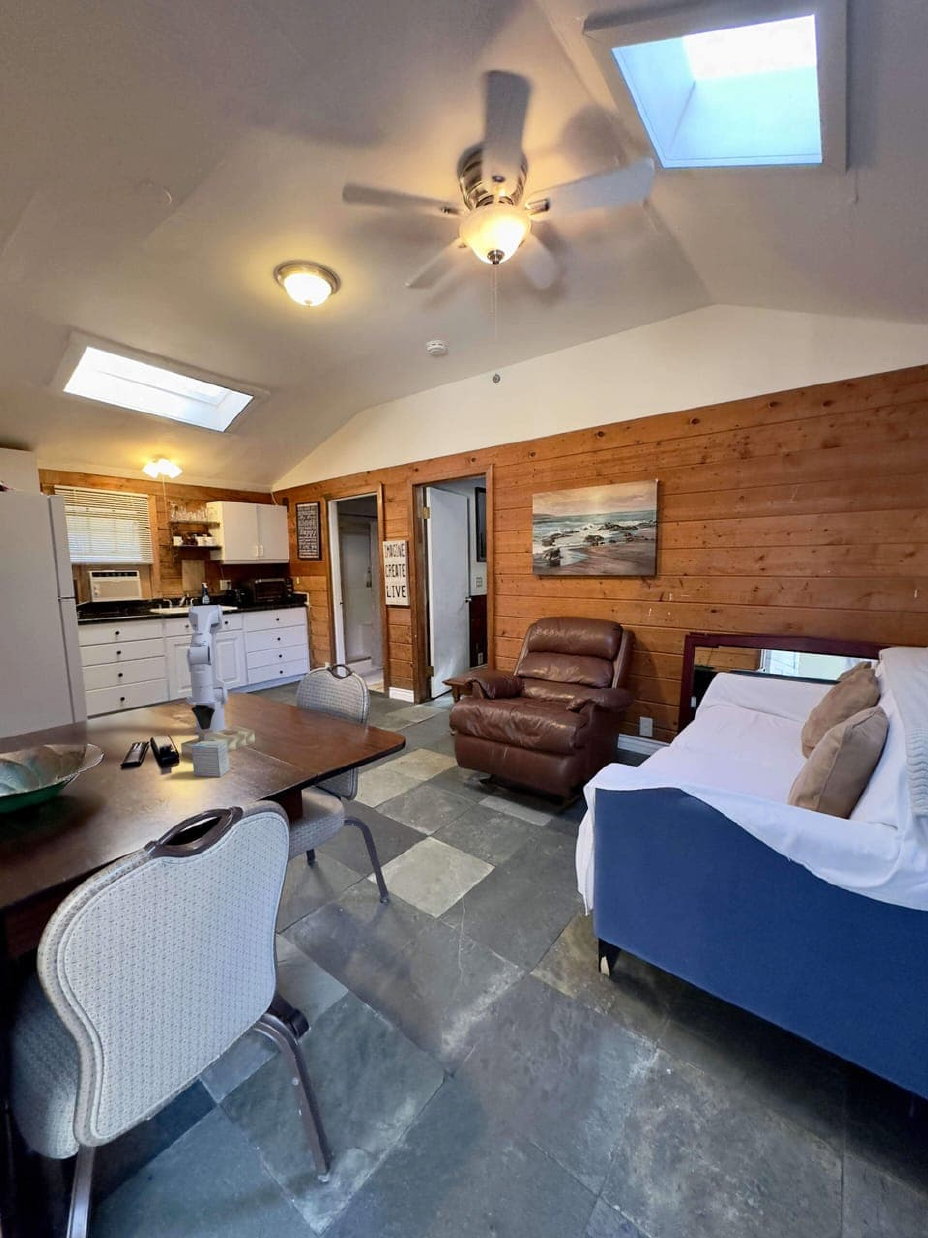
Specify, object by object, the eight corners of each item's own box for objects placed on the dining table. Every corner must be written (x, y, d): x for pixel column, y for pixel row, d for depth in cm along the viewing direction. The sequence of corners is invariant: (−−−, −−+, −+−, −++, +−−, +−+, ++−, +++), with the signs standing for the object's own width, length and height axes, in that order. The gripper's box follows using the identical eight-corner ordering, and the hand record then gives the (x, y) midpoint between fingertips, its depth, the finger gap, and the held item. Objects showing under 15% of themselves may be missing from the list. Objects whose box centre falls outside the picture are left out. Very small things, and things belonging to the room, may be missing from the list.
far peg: (229, 746, 152) (228, 734, 152) (224, 744, 154) (223, 732, 153) (238, 743, 155) (237, 731, 154) (232, 741, 156) (231, 729, 156)
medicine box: (230, 770, 135) (227, 741, 134) (220, 777, 130) (218, 747, 129) (203, 769, 135) (201, 740, 134) (193, 776, 131) (191, 746, 130)
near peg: (204, 746, 145) (203, 733, 144) (199, 744, 146) (198, 732, 146) (214, 743, 147) (213, 730, 147) (208, 741, 149) (207, 729, 148)
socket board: (201, 762, 140) (200, 749, 140) (181, 756, 145) (180, 743, 145) (254, 742, 156) (254, 730, 155) (235, 737, 161) (234, 725, 160)
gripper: (175, 685, 145) (178, 728, 146) (203, 691, 138) (207, 736, 139) (198, 680, 151) (201, 722, 153) (226, 685, 144) (229, 729, 145)
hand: (205, 728), depth 146 cm, fingers closed
